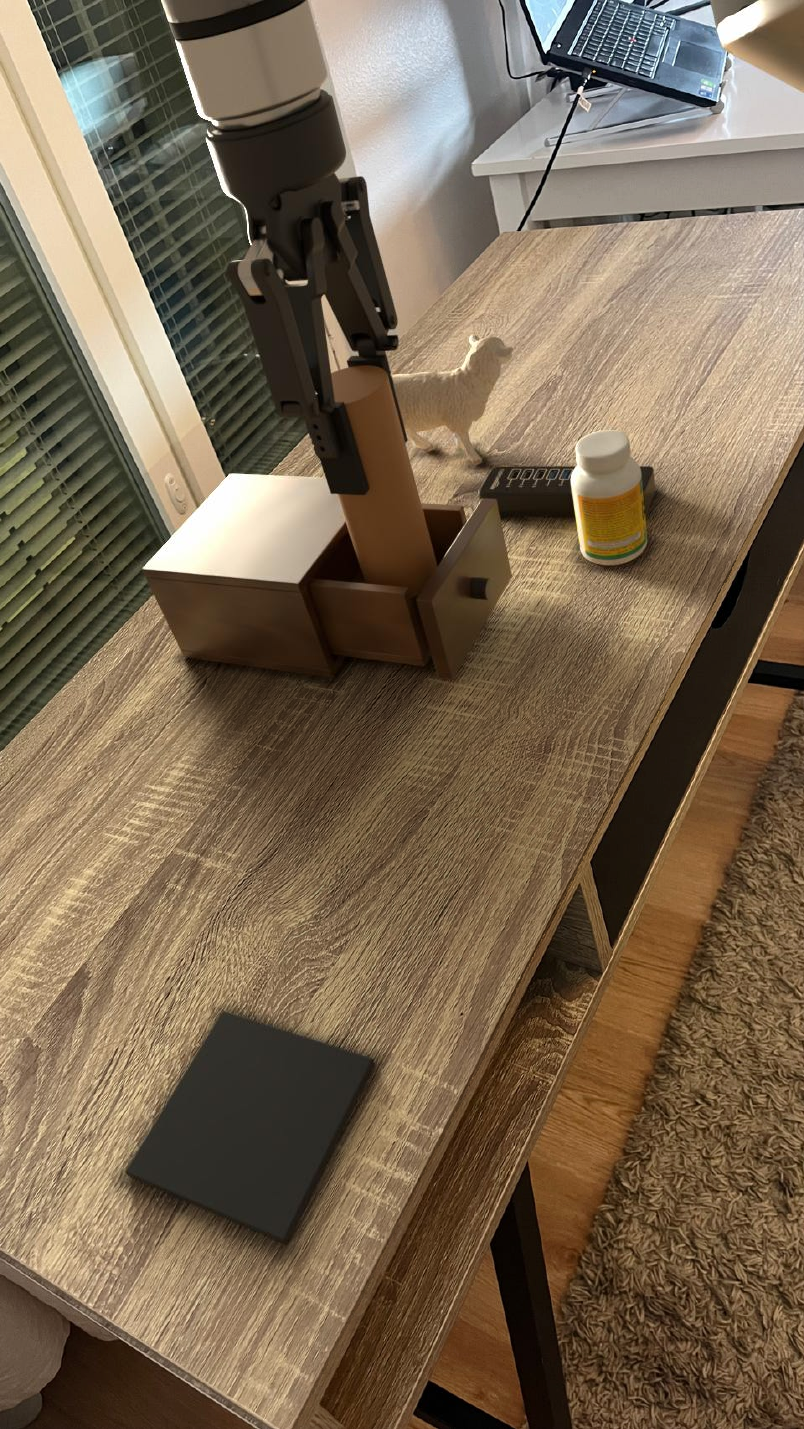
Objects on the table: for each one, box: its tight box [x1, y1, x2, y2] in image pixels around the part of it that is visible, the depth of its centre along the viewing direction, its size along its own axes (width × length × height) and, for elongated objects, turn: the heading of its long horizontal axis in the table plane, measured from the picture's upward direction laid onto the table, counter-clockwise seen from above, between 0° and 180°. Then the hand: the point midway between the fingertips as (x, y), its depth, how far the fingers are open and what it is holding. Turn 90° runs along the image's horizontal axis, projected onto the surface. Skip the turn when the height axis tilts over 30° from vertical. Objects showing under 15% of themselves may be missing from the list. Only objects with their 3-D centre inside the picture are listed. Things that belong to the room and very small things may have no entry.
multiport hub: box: [477, 465, 657, 518], centre depth 92 cm, size 4×14×2 cm, turn 68°
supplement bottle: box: [571, 429, 648, 566], centre depth 83 cm, size 5×5×10 cm
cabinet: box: [141, 473, 348, 679], centre depth 87 cm, size 15×14×9 cm
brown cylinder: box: [315, 365, 438, 598], centre depth 76 cm, size 6×6×16 cm
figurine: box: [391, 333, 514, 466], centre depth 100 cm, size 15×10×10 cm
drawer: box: [306, 499, 513, 680], centre depth 82 cm, size 15×12×7 cm
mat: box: [125, 1010, 376, 1245], centre depth 57 cm, size 10×10×1 cm
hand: (369, 465), depth 75 cm, fingers closed on brown cylinder, 6 cm apart
